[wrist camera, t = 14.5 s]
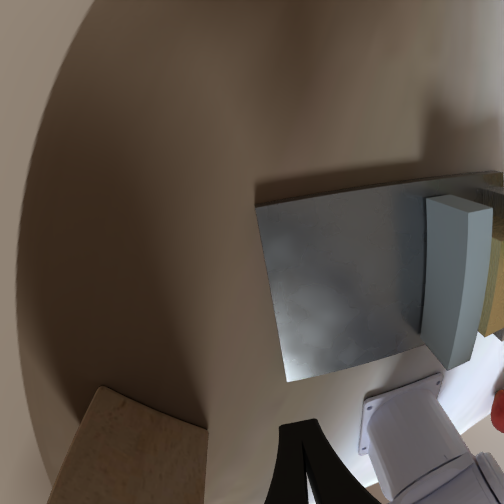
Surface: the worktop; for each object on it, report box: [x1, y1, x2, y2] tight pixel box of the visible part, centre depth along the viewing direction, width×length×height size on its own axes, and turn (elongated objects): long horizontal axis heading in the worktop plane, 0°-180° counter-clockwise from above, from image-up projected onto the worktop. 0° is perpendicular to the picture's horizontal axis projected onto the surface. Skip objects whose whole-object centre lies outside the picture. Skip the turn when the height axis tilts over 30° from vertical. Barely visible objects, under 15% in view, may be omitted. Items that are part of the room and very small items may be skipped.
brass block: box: [478, 215, 504, 337], centre depth 15 cm, size 6×4×5 cm, turn 11°
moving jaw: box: [420, 195, 493, 371], centre depth 15 cm, size 10×2×4 cm, turn 11°
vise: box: [255, 171, 504, 382], centre depth 16 cm, size 12×18×5 cm, turn 101°
